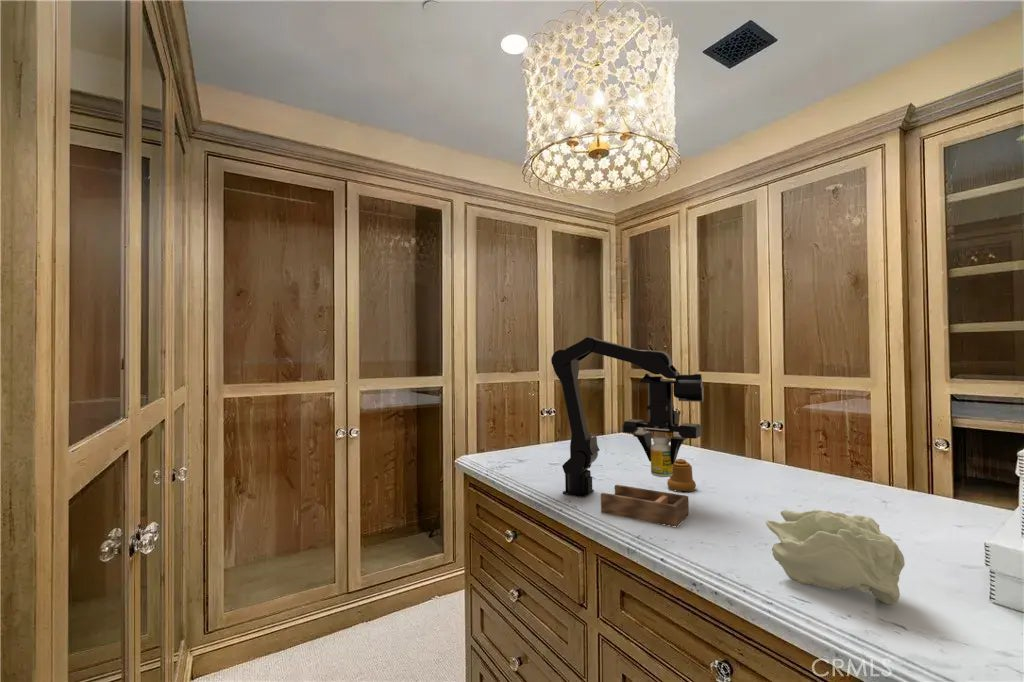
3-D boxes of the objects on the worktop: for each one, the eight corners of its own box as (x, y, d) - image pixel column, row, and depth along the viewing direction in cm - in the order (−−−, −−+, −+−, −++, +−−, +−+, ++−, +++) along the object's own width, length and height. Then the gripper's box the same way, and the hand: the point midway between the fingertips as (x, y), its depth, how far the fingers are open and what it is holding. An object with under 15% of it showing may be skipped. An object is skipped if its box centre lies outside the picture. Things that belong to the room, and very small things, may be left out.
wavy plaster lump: (797, 620, 80) (745, 529, 84) (842, 582, 85) (791, 499, 90) (903, 630, 64) (833, 518, 69) (949, 583, 70) (882, 482, 74)
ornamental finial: (692, 485, 136) (698, 493, 128) (665, 484, 137) (669, 492, 130) (692, 457, 136) (697, 463, 129) (664, 456, 137) (668, 462, 130)
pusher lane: (601, 512, 115) (600, 493, 115) (616, 502, 122) (616, 484, 122) (676, 527, 104) (675, 506, 104) (688, 515, 112) (688, 495, 112)
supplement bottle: (660, 470, 125) (659, 434, 125) (677, 475, 120) (677, 437, 120) (646, 474, 122) (645, 436, 122) (663, 478, 117) (663, 439, 117)
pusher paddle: (653, 515, 109) (653, 502, 109) (663, 507, 114) (662, 495, 114) (658, 516, 108) (658, 503, 108) (668, 508, 113) (667, 496, 113)
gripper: (707, 399, 122) (709, 460, 122) (637, 396, 133) (638, 452, 133) (694, 403, 113) (696, 470, 113) (620, 400, 124) (622, 460, 124)
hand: (661, 462), depth 121 cm, fingers closed on supplement bottle, 5 cm apart
